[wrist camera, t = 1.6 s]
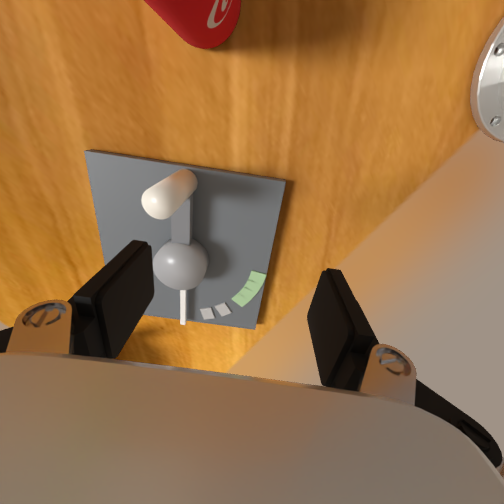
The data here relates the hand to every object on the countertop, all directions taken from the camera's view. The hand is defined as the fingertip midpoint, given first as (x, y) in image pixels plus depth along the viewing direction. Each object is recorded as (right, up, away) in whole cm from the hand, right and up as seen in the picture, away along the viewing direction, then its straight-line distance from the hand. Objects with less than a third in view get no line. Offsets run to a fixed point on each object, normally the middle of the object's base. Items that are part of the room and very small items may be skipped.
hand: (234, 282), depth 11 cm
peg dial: (-8, +1, +19) cm, 20 cm away
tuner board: (-7, +1, +20) cm, 21 cm away
